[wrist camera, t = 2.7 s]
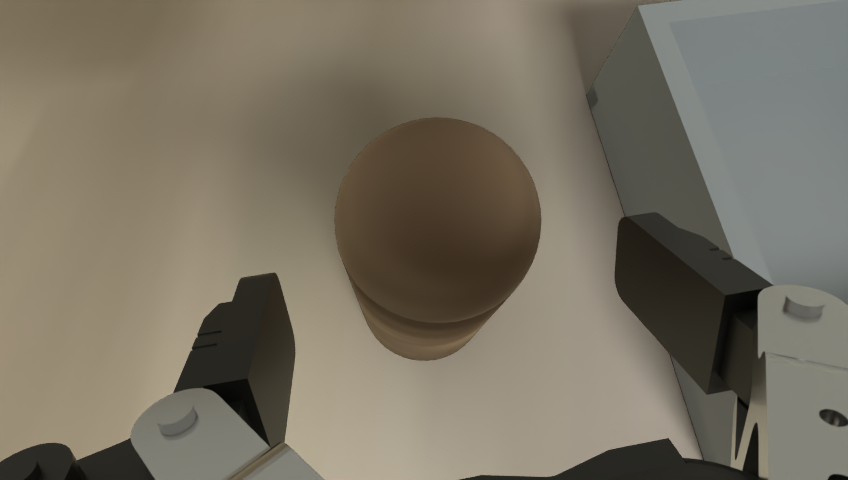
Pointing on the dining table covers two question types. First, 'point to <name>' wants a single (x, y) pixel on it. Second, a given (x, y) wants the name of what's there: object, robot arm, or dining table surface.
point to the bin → (735, 144)
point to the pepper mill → (435, 233)
